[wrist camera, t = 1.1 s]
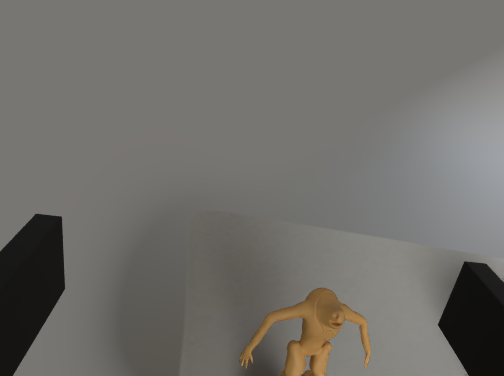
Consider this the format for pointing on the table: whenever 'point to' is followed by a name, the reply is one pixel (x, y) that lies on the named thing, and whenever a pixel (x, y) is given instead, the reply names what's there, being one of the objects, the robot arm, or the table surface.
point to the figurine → (311, 332)
